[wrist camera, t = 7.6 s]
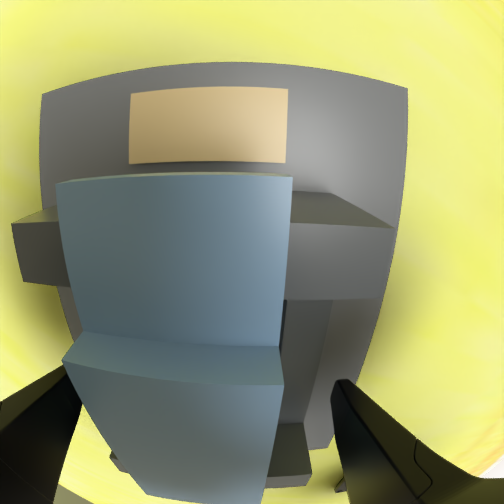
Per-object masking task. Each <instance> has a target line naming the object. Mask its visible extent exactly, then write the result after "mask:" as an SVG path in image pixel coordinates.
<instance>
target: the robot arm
mask: <svg viewBox="0 0 504 504" xmlns="http://www.w3.org/2000/svg"><path fill="white" fill-rule="evenodd" d="M82 404H83V403H82V401H81V399H80V397H79V396H78V394H77V392H76V390H75V388H74V386H73V384H72V382H71V380H70V378H69V376H68V373H67V371H66V369H65V367H64V365H62V366H60V367H58V368H57V369H55V370H53V371H51V372H50V373H48V374H46V375H45V376H43V377H41V378H40V379H38V380H36V381H35V382H33V383H31V384H29V385H28V386H26V387H24V388H23V389H21V390H19V391H18V392H16V393H14V394H12V395H11V396H9V397H7V398H6V399H4V400H3V401H0V504H53V501H54V497H55V493H56V489H57V485H58V482H59V478H60V474H61V471H62V467H63V464H64V461H65V457H66V454H67V451H68V448H69V445H70V442H71V439H72V436H73V433H74V430H75V427H76V425H77V422H78V419H79V415H80V412H81V408H82ZM330 404H331V411H332V418H333V426H334V434H335V440H336V445H337V449H338V452H339V456H340V460H341V464H342V468H343V472H344V478H343V479H342V480H341V482H340V483H339V484H338V485H337V486H336V488H335V489H334V490H335V493H339V492H344V491H347V494H348V499H349V503H350V504H504V478H493V479H492V478H488V479H487V478H485V479H484V478H479V477H475V476H473V475H471V474H469V473H467V472H465V471H464V470H462V469H460V468H459V467H457V466H455V465H454V464H452V463H450V462H449V461H447V460H446V459H444V458H443V457H441V456H440V455H438V454H437V453H435V452H434V451H433V450H431V449H430V448H429V447H427V446H426V445H425V444H424V443H422V442H421V441H420V440H419V439H416V437H415V436H414V435H413V434H412V433H410V432H409V431H408V430H407V429H406V428H404V427H403V426H402V425H401V424H400V423H399V422H397V421H396V420H395V419H394V418H393V417H392V416H390V415H389V414H388V413H387V412H386V411H385V410H383V409H382V408H381V407H380V406H379V405H378V404H377V403H375V402H374V401H373V400H372V399H371V398H370V397H369V396H367V395H366V394H365V393H364V392H363V391H362V390H361V389H359V388H358V387H357V386H356V385H355V384H354V383H353V382H352V381H350V380H349V379H338V380H336V381H335V383H334V387H333V390H332V393H331V396H330Z"/></svg>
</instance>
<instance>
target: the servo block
mask: <svg viewBox="0 0 504 504" xmlns="http://www.w3.org/2000/svg"><path fill="white" fill-rule="evenodd" d="M292 182H293V177H291V176H290V175H288V174H275V173H249V172H172V173H147V174H129V175H115V176H102V177H92V178H82V179H73V180H69V181H65V182H61V183H57V184H55V187H56V200H57V210H58V218H59V226H60V233H61V240H62V246H63V251H64V257H65V262H66V267H67V272H68V276H69V281H70V285H71V289H72V293H73V297H74V301H75V305H76V308H77V312H78V315H79V319H80V322H81V325H82V328H83V332H82V333H81V334H80V336H79V337H78V338H77V340H76V341H75V342H74V344H73V345H72V346H71V348H70V349H69V350H68V352H67V353H66V354H65V356H64V357H63V359H62V363H63V365H64V367H65V369H66V371H67V373H68V376H69V378H70V380H71V382H72V384H73V386H74V388H75V390H76V392H77V394H78V396H79V397H80V399H81V401H82V403H83V405H84V407H85V408H86V410H87V412H88V414H89V415H90V417H91V419H92V420H93V422H94V424H95V425H96V427H97V429H98V430H99V432H100V433H101V435H102V436H103V438H104V439H105V441H106V442H107V444H108V445H109V447H110V448H111V450H112V451H113V453H114V454H115V455H116V457H117V458H118V460H119V461H120V462H121V464H122V465H123V466H124V468H125V469H126V470H127V471H128V473H129V474H130V475H131V477H132V478H133V479H134V480H135V481H136V483H137V484H138V485H139V486H140V487H141V489H142V490H143V491H144V492H145V493H146V494H147V495H151V496H156V497H162V498H167V499H173V500H179V501H187V502H195V503H204V504H261V500H262V496H263V492H264V487H265V483H266V478H267V474H268V469H269V464H270V460H271V455H272V450H273V445H274V440H275V435H276V429H277V424H278V419H279V413H280V407H281V402H282V396H283V390H284V379H283V372H282V366H281V359H280V352H279V339H280V330H281V320H282V310H283V300H284V289H285V278H286V267H287V255H288V242H289V229H290V215H291V199H292Z"/></svg>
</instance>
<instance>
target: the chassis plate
mask: <svg viewBox="0 0 504 504" xmlns="http://www.w3.org/2000/svg"><path fill="white" fill-rule="evenodd" d="M407 132H408V88H405V87H401V86H398V85H394V84H391V83H387V82H383V81H380V80H376V79H371V78H367V77H363V76H358V75H354V74H349V73H343V72H338V71H332V70H326V69H320V68H313V67H305V66H296V65H286V64H273V63H253V62H211V63H191V64H179V65H169V66H160V67H152V68H145V69H139V70H133V71H127V72H122V73H117V74H112V75H107V76H103V77H98V78H94V79H90V80H86V81H83V82H79V83H75V84H72V85H69V86H65V87H62V88H59V89H56V90H53V91H50V92H47V93H44V94H42V102H41V114H40V136H39V161H40V183H41V196H42V207H43V210H42V211H39V212H37V213H34V214H32V215H29V216H27V217H25V218H22V219H20V220H18V221H16V222H13V223H11V226H12V232H13V238H14V243H15V248H16V253H17V258H18V262H19V266H20V270H21V274H22V278H23V282H30V283H37V284H45V285H53V286H57V289H58V293H59V296H60V300H61V304H62V307H63V310H64V314H65V317H66V320H67V323H68V326H69V329H70V332H71V335H72V338H73V341H74V342H75V341H76V340H77V338H78V337H79V336H80V334H81V333H82V332H83V328H82V325H81V322H80V319H79V315H78V312H77V308H76V305H75V301H74V297H73V293H72V289H71V285H70V281H69V276H68V272H67V267H66V262H65V257H64V251H63V246H62V240H61V233H60V226H59V218H58V210H57V200H56V187H55V184H57V183H61V182H65V181H69V180H73V179H82V178H92V177H102V176H115V175H129V174H147V173H172V172H249V173H275V174H288V175H290V176H291V177H293V182H292V199H291V215H290V229H289V242H288V255H287V267H286V278H285V289H284V300H283V310H282V320H281V330H280V339H279V352H280V359H281V366H282V372H283V379H284V390H283V396H282V402H281V407H280V413H279V419H278V424H277V429H276V435H275V440H274V445H273V450H272V455H271V460H270V464H269V469H268V474H267V478H266V483H265V487H264V488H284V487H297V486H306V484H307V483H308V481H309V479H310V477H311V475H312V469H311V463H310V457H309V451H308V450H314V449H323V448H328V446H329V444H330V442H331V440H332V437H333V435H334V426H333V418H332V411H331V404H330V396H331V393H332V390H333V387H334V383H335V381H336V380H338V379H349V380H350V381H352V382H353V383H354V384H356V382H357V379H358V377H359V374H360V371H361V368H362V366H363V363H364V360H365V357H366V354H367V351H368V348H369V345H370V342H371V339H372V336H373V332H374V329H375V326H376V322H377V319H378V315H379V312H380V308H381V305H382V301H383V297H384V293H385V289H386V285H387V281H388V276H389V272H390V267H391V263H392V258H393V253H394V248H395V242H396V237H397V231H398V225H399V218H400V211H401V204H402V196H403V188H404V178H405V167H406V153H407ZM109 458H110V459H111V460H112V462H113V463H114V464H115V466H116V467H117V468H118V469H119V471H121V472H125V473H128V471H127V470H126V469H125V468H124V466H123V465H122V464H121V462H120V461H119V460H118V458H117V457H116V455H115V454H114V453H113V451H111V454H110V457H109Z"/></svg>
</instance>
